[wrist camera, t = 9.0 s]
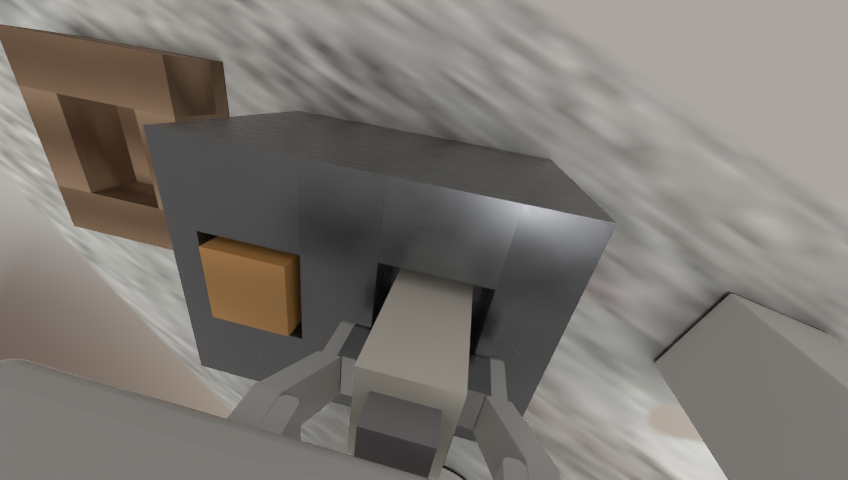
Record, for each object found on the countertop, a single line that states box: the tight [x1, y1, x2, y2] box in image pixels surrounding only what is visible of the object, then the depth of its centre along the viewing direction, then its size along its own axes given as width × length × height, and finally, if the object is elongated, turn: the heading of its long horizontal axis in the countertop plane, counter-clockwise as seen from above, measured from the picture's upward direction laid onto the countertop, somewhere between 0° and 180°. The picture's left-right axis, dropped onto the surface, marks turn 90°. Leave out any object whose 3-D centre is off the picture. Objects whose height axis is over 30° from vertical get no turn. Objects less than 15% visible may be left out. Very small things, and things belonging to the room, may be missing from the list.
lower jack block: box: [0, 25, 229, 250], centre depth 20 cm, size 12×10×4 cm
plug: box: [348, 268, 473, 479], centre depth 11 cm, size 4×3×8 cm
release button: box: [199, 236, 302, 337], centre depth 14 cm, size 4×4×3 cm
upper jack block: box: [143, 111, 617, 442], centre depth 17 cm, size 12×16×10 cm
